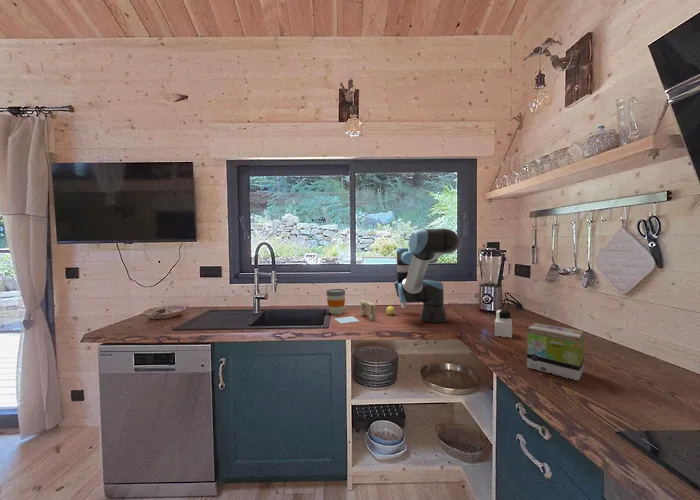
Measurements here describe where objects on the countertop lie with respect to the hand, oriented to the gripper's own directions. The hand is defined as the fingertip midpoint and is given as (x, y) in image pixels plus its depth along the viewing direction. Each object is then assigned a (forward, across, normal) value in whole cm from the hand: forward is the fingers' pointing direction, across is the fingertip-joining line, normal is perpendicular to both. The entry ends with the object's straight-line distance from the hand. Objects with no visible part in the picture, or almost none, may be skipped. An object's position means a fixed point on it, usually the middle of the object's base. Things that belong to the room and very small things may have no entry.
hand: (403, 307), depth 186 cm
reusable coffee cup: (+4, +40, -20) cm, 44 cm away
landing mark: (+3, +40, 0) cm, 40 cm away
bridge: (+3, +26, 0) cm, 26 cm away
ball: (+1, +10, 0) cm, 10 cm away
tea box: (+3, -4, +93) cm, 94 cm away
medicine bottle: (+3, -20, +58) cm, 62 cm away
